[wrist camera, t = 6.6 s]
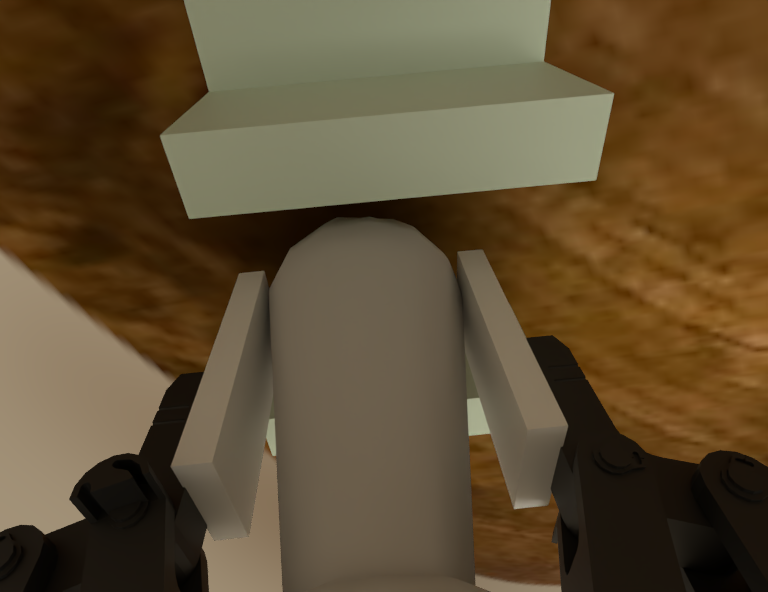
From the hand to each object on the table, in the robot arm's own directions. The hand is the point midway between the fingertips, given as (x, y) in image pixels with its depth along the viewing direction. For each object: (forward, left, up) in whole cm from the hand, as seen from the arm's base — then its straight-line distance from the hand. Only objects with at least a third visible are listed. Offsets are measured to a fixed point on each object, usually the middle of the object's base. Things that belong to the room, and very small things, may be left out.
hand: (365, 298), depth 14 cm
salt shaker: (0, 0, -2) cm, 2 cm away
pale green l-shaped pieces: (0, +1, -4) cm, 4 cm away
